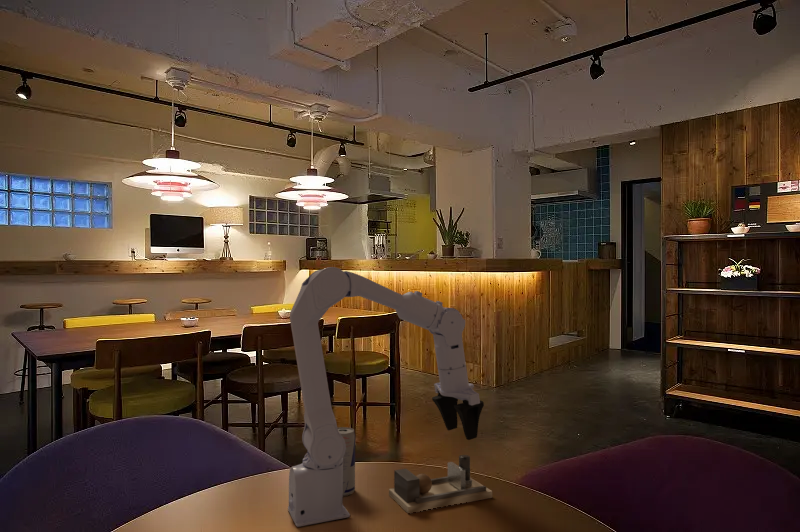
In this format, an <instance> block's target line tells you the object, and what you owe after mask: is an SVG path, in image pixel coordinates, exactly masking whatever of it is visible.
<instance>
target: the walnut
mask: <svg viewBox="0 0 800 532" xmlns="http://www.w3.org/2000/svg"><path fill="white" fill-rule="evenodd" d="M415 476H416V477H418V478H419V493H420V494H426V493H428V492H429V491H430V489H431V487H432V481H431V479H432V478H431V477H430V476H429V475H428V474H426V473H418V474H416V475H415Z"/></svg>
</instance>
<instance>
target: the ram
mask: <svg viewBox="0 0 800 532" xmlns="http://www.w3.org/2000/svg"><path fill="white" fill-rule="evenodd" d="M447 476H448V482H449V483H451V484H452V485H453V486H455V487H456V488H458V489H459V490H463V489H465V487H471V486H472V480H471V479H470V477H471V456H470V455H469V454H459V456H458V464H456V462H453V461H448V462H447Z"/></svg>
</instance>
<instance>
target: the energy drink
mask: <svg viewBox="0 0 800 532" xmlns="http://www.w3.org/2000/svg"><path fill="white" fill-rule="evenodd" d="M337 428H338V431H339V433H340V434H341V435H342V437H343V438H344V440H345V444H346V450H345V454H344V456H343V497H348V496H350V495H352V494H353V493H354V492H355V489H356V433H355V429H354V428H352V427H345V426H344V427H343V426H341V427H337ZM347 495H348V496H347Z"/></svg>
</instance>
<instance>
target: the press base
mask: <svg viewBox="0 0 800 532" xmlns="http://www.w3.org/2000/svg"><path fill="white" fill-rule="evenodd" d="M393 473H394V478H393V480H394V482H393V484H394V485H393V486H394V487H393V488H389V489H388V496H389V497H390V498H391V499H392V500H393V499H394V500H395V501H396V502H397V503H396V502H395V501H394V500H393V501H394V502H395V503H396V504H397V505H398V506H399V505H400V506H401V507H400V508H401V509H402V510H403V511H405V513H406V514H408V513H410V514H414V513H413V512H416V513H420V511H421V512H424V511H423V510H426V511H429V510H428V509H431V510H434V509H433V508H436V509H438V508H437V507H441V508H444V507H443V506H446V507H449V506H448V505H451V506H455V505H454V504H457V505H460V503H462V504H466V502H467V503H472V502H476V501H480V500H487V499H491V498H493V490H491V489H490V488H488V487H487V486H486V485H483V484H481V483H480V482H479V481H477V480H475V479H474V478H472V477H471V476H470V479H471V480H472V486H471V487H465V489H463V490H459V489H458V488H456V487H455V486H453V485H452V484H451V483H449V482H448V475H447V476H442V477H436V478H430V479H431V481H432V487H431V489H430V491H429V492H428V493H426V494H420V493H419V478H418V477H416V476H417V475H415V474H414V473H413V472H412V471H410V470H409V469H408V468H401V469H395V470H394V472H393Z"/></svg>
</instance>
